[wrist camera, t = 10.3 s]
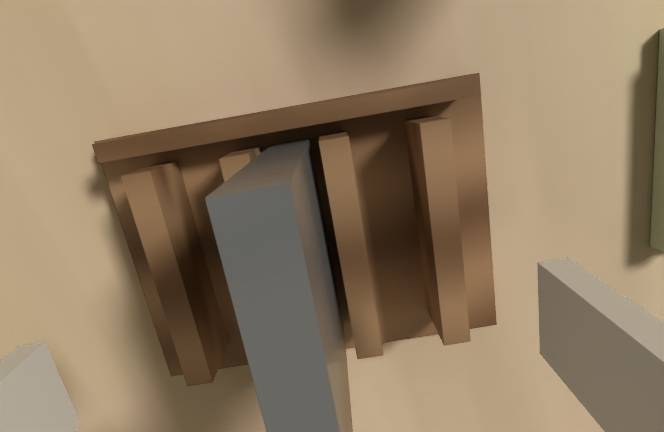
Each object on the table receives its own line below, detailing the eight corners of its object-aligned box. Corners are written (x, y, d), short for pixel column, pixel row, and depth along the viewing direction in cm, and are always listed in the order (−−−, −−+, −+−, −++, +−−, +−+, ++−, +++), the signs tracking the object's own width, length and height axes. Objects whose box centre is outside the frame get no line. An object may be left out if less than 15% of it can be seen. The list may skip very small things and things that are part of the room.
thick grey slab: (271, 144, 19) (204, 197, 8) (309, 138, 19) (289, 183, 8) (310, 330, 22) (297, 546, 11) (343, 324, 22) (361, 537, 11)
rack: (107, 139, 20) (49, 149, 16) (470, 74, 20) (510, 66, 15) (178, 362, 24) (146, 420, 19) (487, 313, 23) (524, 361, 19)
